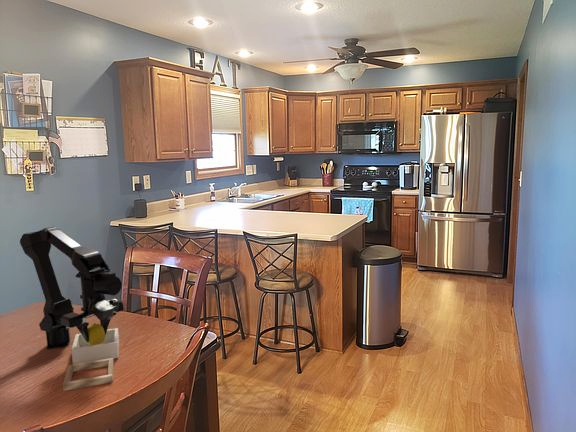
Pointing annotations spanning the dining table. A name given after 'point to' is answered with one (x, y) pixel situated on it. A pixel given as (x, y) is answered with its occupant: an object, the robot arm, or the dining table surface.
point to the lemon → (96, 334)
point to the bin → (96, 348)
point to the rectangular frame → (89, 381)
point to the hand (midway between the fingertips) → (95, 338)
